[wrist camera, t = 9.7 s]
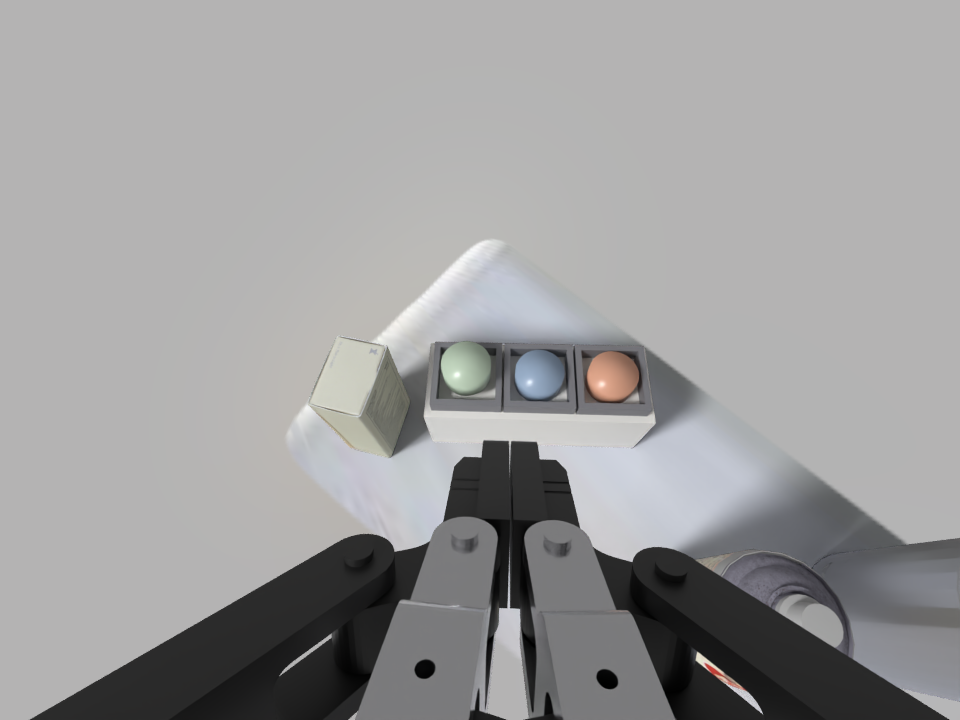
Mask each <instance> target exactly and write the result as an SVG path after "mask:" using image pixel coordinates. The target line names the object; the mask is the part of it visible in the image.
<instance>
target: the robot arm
mask: <svg viewBox="0 0 960 720" xmlns="http://www.w3.org/2000/svg"><path fill="white" fill-rule="evenodd" d="M509 547H510V608H516V609H520V619H521V622H520V649H521V657H522V666H523V674H524V682H525V690H526V699H527V708H528V715H529V719H525V720H949V719H947V718H946V717H944V716H943V715H941V714H939V713H938V712H936V711H935V710H933V709H931V708H930V707H928V706H927V705H925V704H923V703H922V702H920V701H919V700H917V699H915V698H914V697H912V696H911V695H909V694H908V693H906V692H904V691H903V690H901V689H900V688H902V689H906V690H911V691H914V692H919V693H923V694H928V695H932V696H937V697H941V698H946V699H950V700H955V701H959V702H960V538H957V539H949V540H941V541H933V542H925V543H917V544H909V545H901V546H893V547H885V548H877V549H868V550H861V551H853V552H845V553H839V554H833V555H830V556H828V557H825V558H823V559H821V560H820V561H819V562H818V563H817V564H816V565H814V567H813V568H812V569H813V570H814V571H815V572H817V573H818V574H819V575H820V576H822V577H823V578H824V579H825V581H826V582H827V583H828V584H829V586H830V587H831V588H832V589H833V591H834V592H835V593H836V594H837V596H838V597H839V599H840V601H841V603H842V605H843V607H844V609H845V611H846V613H847V615H848V617H849V619H850V623H851V628H852V633H853V638H854V643H855V648H854V658H853V659H852V658H850V657H849V656H847V655H845V654H844V653H842V652H841V651H839V650H837V649H836V648H834V647H833V646H831V645H829V644H828V643H826V642H825V641H823V640H822V639H820V638H818V637H817V636H815V635H814V634H812V633H810V632H809V631H807V630H806V629H804V628H802V627H801V626H799V625H798V624H796V623H794V622H793V621H791V620H790V619H788V618H786V617H785V616H783V615H782V614H780V613H779V612H777V611H775V610H774V609H772V608H771V607H769V606H767V605H766V604H764V603H763V602H761V601H759V600H758V599H756V598H755V597H753V596H751V595H750V594H748V593H747V592H745V591H743V590H742V589H740V588H739V587H737V586H736V585H734V584H732V583H731V582H729V581H728V580H726V579H724V578H723V577H721V576H720V575H718V574H716V573H715V572H713V571H712V570H710V569H708V568H707V567H705V566H704V565H702V564H700V563H699V562H697V561H696V560H694V559H693V558H691V557H689V556H687V555H686V554H683V553H681V552H679V551H676V550H673V549H668V548H662V547H652V548H647V549H643V550H641V551H640V552H638V553H637V554H636V555H635V557H634V559H633V562H629V561H625V560H622V559H618V558H615V557H612V556H609V555H606V554H604V553H602V552H600V551H598V550H596V549H595V548H594V547H593V546H592V544H591V541H590V539H589V537H588V536H587V534H586V533H585V532H584V531H583V530H581V529H580V526H579V522H578V518H577V513H576V509H575V505H574V501H573V497H572V494H571V488H570V484H569V480H568V476H567V471H566V470H565V469H564V468H563V467H562V466H561V464H560V463H559V462H558V461H557V460H540V459H539V452H538V444H537V442H530V441H511V455H510V473H509V441H496V440H483V449H482V458H478V457H463V458H462V459H461V460H460V461H459V462H458V463H457V464H456V465H455V466H454V471H453V476H452V481H451V486H450V491H449V496H448V501H447V506H446V511H445V516H444V521H443V523H441V524H440V525H439V526H438V527H437V528H436V529H435V530H434V532H433V535H432V538H431V540H430V541H429V542H428V543H426V544H424V545H422V546H419V547H416V548H412V549H407V550H402V551H397V552H394V548H393V545H392V544H391V543H390V542H389V541H388V540H387V539H385V538H383V537H381V536H378V535H373V534H360V535H355V536H351V537H348V538H345V539H343V540H341V541H339V542H337V543H336V544H334V545H332V546H330V547H329V548H327V549H325V550H324V551H322V552H320V553H318V554H317V555H315V556H313V557H311V558H310V559H308V560H306V561H304V562H303V563H301V564H299V565H297V566H296V567H294V568H292V569H290V570H289V571H287V572H285V573H284V574H282V575H280V576H278V577H277V578H275V579H273V580H272V581H270V582H268V583H266V584H265V585H263V586H261V587H259V588H258V589H256V590H254V591H252V592H251V593H249V594H247V595H246V596H244V597H242V598H240V599H238V600H237V601H235V602H233V603H232V604H230V605H228V606H226V607H225V608H223V609H221V610H219V611H218V612H216V613H214V614H212V615H211V616H209V617H208V618H205V619H204V620H202V621H200V622H199V623H197V624H195V625H194V626H192V627H190V628H188V629H186V630H185V631H183V632H181V633H180V634H178V635H176V636H174V637H173V638H171V639H169V640H167V641H166V642H164V643H162V644H160V645H159V646H157V647H155V648H154V649H152V650H150V651H148V652H147V653H145V654H143V655H141V656H140V657H138V658H136V659H134V660H133V661H131V662H129V663H128V664H126V665H124V666H122V667H121V668H119V669H117V670H115V671H114V672H112V673H110V674H109V675H107V676H105V677H103V678H102V679H100V680H98V681H96V682H94V683H93V684H91V685H89V686H87V687H86V688H84V689H82V690H81V691H79V692H77V693H76V694H74V695H72V696H70V697H68V698H67V699H65V700H63V701H61V702H60V703H58V704H56V705H55V706H53V707H51V708H49V709H48V710H46V711H44V712H42V713H41V714H39V715H37V716H35V717H34V718H32V719H30V720H348V719H349V718H350V717H351V716H353V715H354V714H355V713H356V712H357V711H358V713H357V716H356V718H355V720H506V719H503V718H500V717H497V716H494V715H491V714H488V713H487V711H488V702H489V693H490V683H491V674H492V665H493V656H494V646H495V632H496V630H497V627H498V623H499V608H507V603H508V573H509ZM331 633H332V638H331V639H329V640H328V641H327V642H325V643H324V644H323V645H321V646H320V647H319V648H317V649H316V650H315V651H313V652H312V653H310V654H309V655H308V656H306V657H305V658H304V659H302V660H301V661H300V662H298V663H297V664H296V665H294V666H293V667H291V668H290V669H289V670H287V671H286V672H285V673H283V674H282V675H281V676H279V675H280V674H281V673H282V671H283V670H284V669H285V668H286V667H287V666H288V665H289V664H290V663H292V662H293V661H294V660H296V659H297V658H298V657H300V656H301V655H302V654H304V653H305V652H307V651H308V650H309V649H311V648H312V647H313V646H315V645H316V644H317V643H319V642H320V641H322V640H323V639H324V638H326V637H327V636H328V635H330V634H331ZM697 652H698V653H700V654H701V655H702V656H703V657H705V658H706V659H707V660H708V661H710V662H711V663H712V664H714V665H715V666H716V667H717V668H719V669H720V670H721V671H722V672H724V673H725V674H726V675H727V676H729V677H730V678H731V679H733V680H734V681H735V682H736V683H738V684H739V685H740V686H741V687H743V688H744V689H745V690H746V691H747V692H749V693H750V694H751V696H752V697H753V698H754V699H755V700H756V702H757V703H758V705H759V706H760V708H761V710H762V712H763V714H762V713H760V712H759V711H758V710H757V709H755V708H754V707H753V706H752V705H750V704H749V703H748V702H747V701H745V700H744V699H743V698H742V697H741V696H739V695H738V694H737V693H736V692H734V691H733V690H732V689H731V688H729V687H728V686H727V685H726V684H724V683H723V682H722V681H721V680H719V679H718V678H717V677H716V676H714V675H713V674H712V673H711V672H710V671H708V670H707V669H706V668H705V667H703V666H702V665H701V664H700V663H698V662H697V661H696V656H697Z"/></svg>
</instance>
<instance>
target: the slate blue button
mask: <svg viewBox="0 0 960 720" xmlns="http://www.w3.org/2000/svg"><path fill="white" fill-rule="evenodd" d="M564 374H565V372H564V366H563V364H562V362H561V361H560V359H559V358H558V357H557V356H556V355H554V354H553V353H551V352H548V351H545V350H533V351H529V352H527V353H525V354H524V355H523V356H522V357H521V358H520V359H519V360H518V362H517V364H516V369H515V379H514V383H515V387H516V390H517V392H518V393H519V394H520V395H521V396H522V397H523V398H524V399H526V400H527V401H543V402H548V401H550V400H552V399H553V398H555V397H556V396H557V394H558V393H559V391H560V388H561V385H562V382H563V379H564Z"/></svg>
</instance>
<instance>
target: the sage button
mask: <svg viewBox="0 0 960 720" xmlns="http://www.w3.org/2000/svg"><path fill="white" fill-rule="evenodd" d="M441 369H442V373H443V378H444V382H445V384H446V386H447V387H448V388H449V389H450V390H451V391H452V392H454V393H456V394H458V395H462V396H471V395H475V394H478V393H479V392H481V391H482V390H484V389H485V388H486V386H487V385H488V383H489V381H490V378H491V359H490V356H489V354H488V352H487V351H486V349H485V348H484V347H482V346H481V345H479V344H477V343H474V342H470V341H463V342H459V343H456V344H454V345H452V346H450V347H449V348H448V349H447V350H446V351H445V353H444V354H443V356H442V360H441Z"/></svg>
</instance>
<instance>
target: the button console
mask: <svg viewBox="0 0 960 720" xmlns="http://www.w3.org/2000/svg"><path fill="white" fill-rule="evenodd" d="M456 343H459V342H435V343H431V347H430V357H429V368H428V378H427V388H426V398H425V408H424V419H425V422H426V425H427V427H428V430H429V432H430V435H431V438H432V440H433V442H444V443H478V444H483V440H496V441H509V444H511V441H530V442H537V444H538V445H545V446H579V447H613V448H633V447H634V446H635V445H636V444H637V443H638V442H639V441H640V440H641V439H642V438H643V436H644V435H645V434H646V433H647V432H648V431H649V430H650V429H651V428H652V427H653V426H654V425H655V424H656V422H655V415H654V408H653V401H652V394H651V386H650V379H649V372H648V365H647V358H646V351H645V348H644V346H613V345H575V346H573V345H566V344H520V343H505V345H502V343H477V344H479V345H481V346H482V347H484V348H485V349H486V351H487V352H488V354H489V356H490V359H491V378H490V381H489V383H488V385H487V386H486V388H485V389H484V390H482V391H481V392H479V393H478V394H475V395H471V396H462V395H458V394H456V393H454V392H452V391H451V390H450V389H449V388H448V387H447V386H446V384H445V382H444V378H443V373H442V369H441V360H442V356H443V354H444V353H445V351H446V350H447V349H448V348H449V347H450V346H452V345H454V344H456ZM533 350H545V351H548V352H551V353H553V354H554V355H556V356H557V357H558V358H559V359H560V361H561V362H562V364H563V366H564V372H565V374H564V379H563V382H562V385H561V388H560V391H559V393H558V394H557V396H556V397H555V398H553V399H552V400H550V401H548V402H543V401H527V400H526V399H524V398H523V397H522V396H521V395H520V394H519V393H518V392H517V390H516V387H515V383H514V379H515V369H516V364H517V362H518V360H519V359H520V358H521V357H522V356H523V355H524V354H525V353H527V352H529V351H533ZM608 351H614V352H619V353H622V354H624V355H626V356H628V357H629V358H630V359H632V360H633V362H634V363H635V364H636V366H637V368H638V371H639V381H638V384H637V386H636V387H635V389H634V390H633V392H632V393H631V395H630V396H629V397H628V399H627V400H625V401H624V402H622V403H600V402H598V401H596V400H595V399H594V398H592V397H591V395H590V394H589V393H588V391H587V389H586V386H585V377H586V374H587V371H588V369H589V366H590V364H591V362H592V360H593V359H594V358H595V357H596V356H597V355H599V354H601V353H603V352H608Z"/></svg>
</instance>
